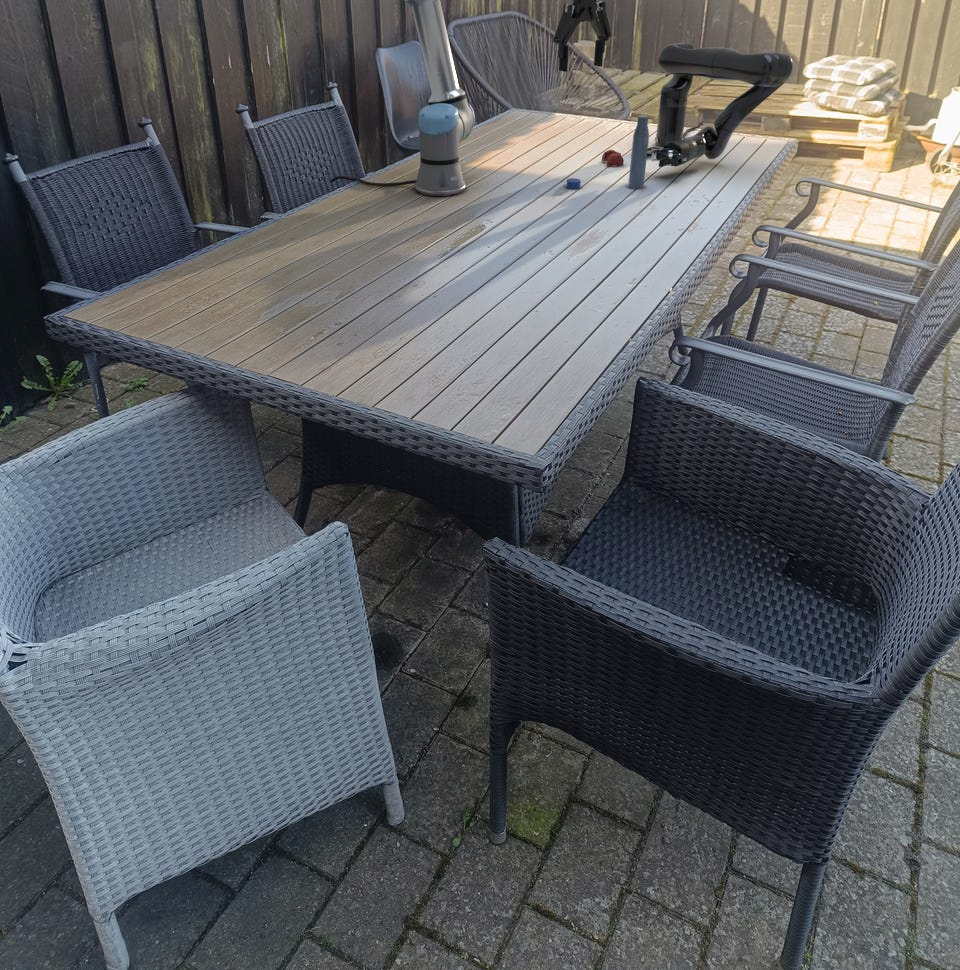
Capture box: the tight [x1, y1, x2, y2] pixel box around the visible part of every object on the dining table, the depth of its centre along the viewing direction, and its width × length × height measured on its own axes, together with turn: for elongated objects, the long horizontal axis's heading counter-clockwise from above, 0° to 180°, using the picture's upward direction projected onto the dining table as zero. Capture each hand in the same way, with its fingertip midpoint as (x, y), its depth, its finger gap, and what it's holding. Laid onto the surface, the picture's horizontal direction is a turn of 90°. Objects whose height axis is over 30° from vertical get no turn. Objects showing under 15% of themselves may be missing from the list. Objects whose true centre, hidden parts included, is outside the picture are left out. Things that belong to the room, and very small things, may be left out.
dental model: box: [601, 149, 625, 167], centre depth 281 cm, size 6×4×8 cm
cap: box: [566, 177, 582, 190], centre depth 260 cm, size 4×4×2 cm
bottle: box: [627, 114, 650, 190], centre depth 255 cm, size 5×5×20 cm
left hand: (580, 68), depth 241 cm, fingers open, 13 cm apart
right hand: (648, 160), depth 261 cm, fingers open, 8 cm apart
